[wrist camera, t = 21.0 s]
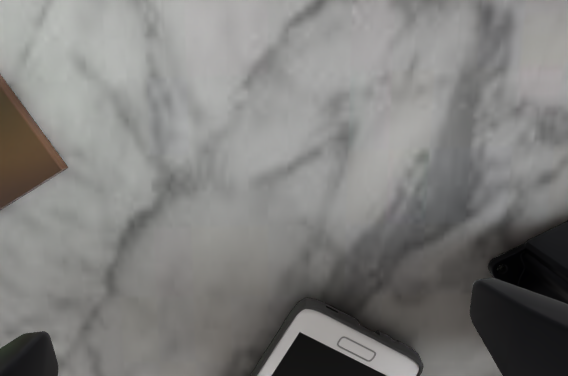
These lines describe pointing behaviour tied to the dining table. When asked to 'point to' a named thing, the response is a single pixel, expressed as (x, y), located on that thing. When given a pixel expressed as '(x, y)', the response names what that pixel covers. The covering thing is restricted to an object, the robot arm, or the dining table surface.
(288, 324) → the cell phone
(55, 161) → the coaster
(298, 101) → the dining table surface
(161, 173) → the dining table surface
